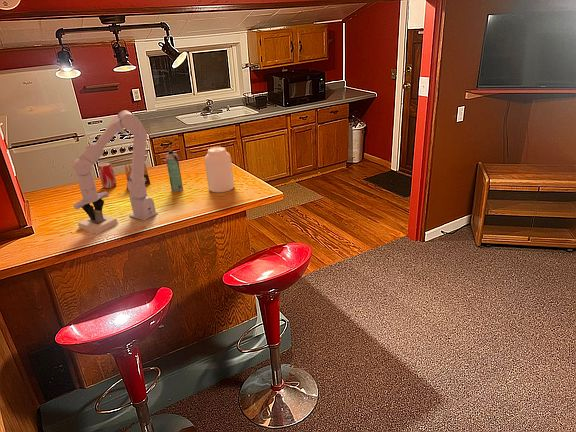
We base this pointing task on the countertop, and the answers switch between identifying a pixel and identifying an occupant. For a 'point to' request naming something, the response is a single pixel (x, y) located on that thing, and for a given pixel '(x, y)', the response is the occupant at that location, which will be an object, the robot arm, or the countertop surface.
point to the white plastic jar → (219, 170)
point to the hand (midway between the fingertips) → (96, 218)
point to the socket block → (97, 228)
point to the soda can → (107, 175)
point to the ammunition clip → (144, 174)
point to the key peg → (98, 217)
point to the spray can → (174, 171)
